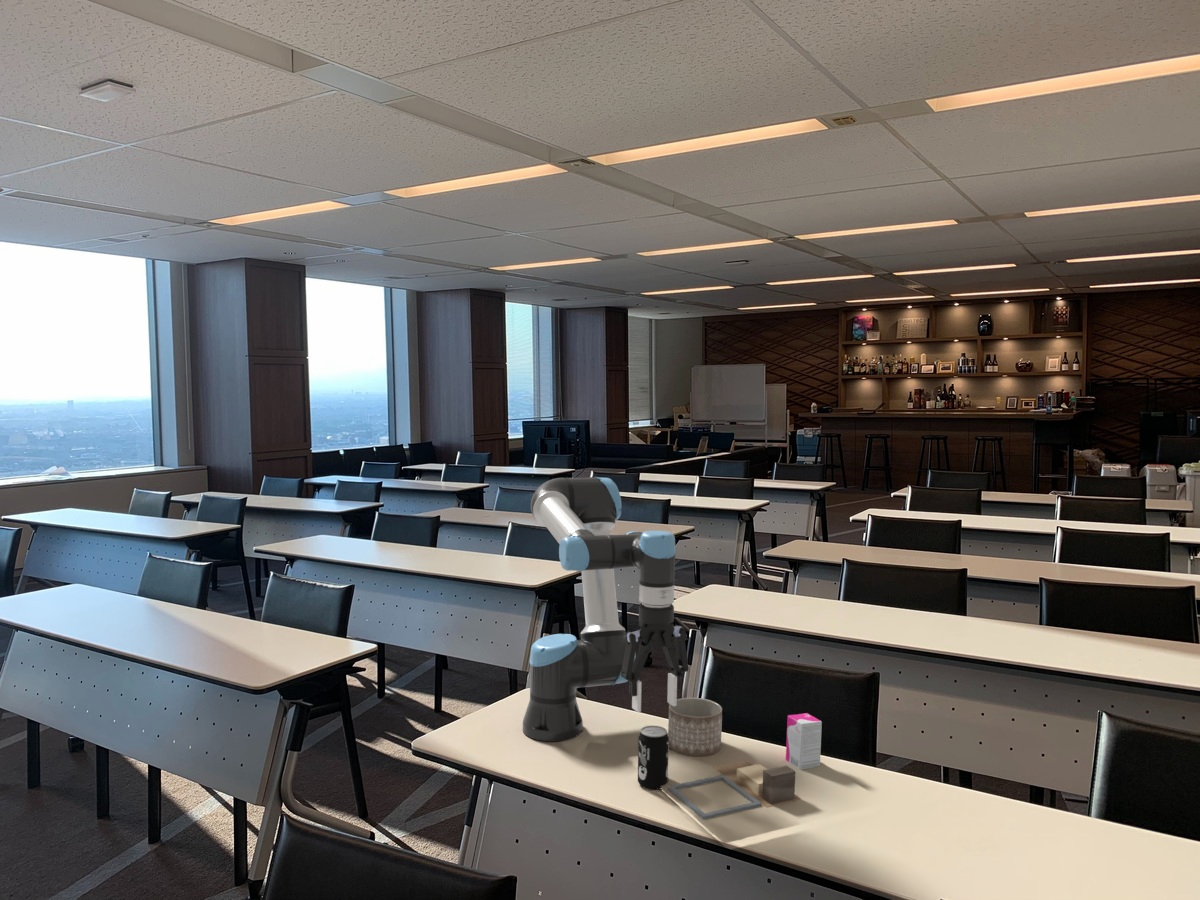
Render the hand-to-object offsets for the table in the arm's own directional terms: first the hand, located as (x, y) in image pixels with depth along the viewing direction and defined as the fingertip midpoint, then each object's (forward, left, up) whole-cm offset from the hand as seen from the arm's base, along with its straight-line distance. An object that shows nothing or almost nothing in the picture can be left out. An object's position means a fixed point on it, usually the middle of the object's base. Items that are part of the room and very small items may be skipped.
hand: (654, 706), depth 181 cm
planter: (-12, +18, -18) cm, 28 cm away
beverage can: (0, 0, -17) cm, 17 cm away
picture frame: (+12, +8, -17) cm, 22 cm away
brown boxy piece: (+10, +20, -17) cm, 28 cm away
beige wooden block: (+11, +20, -16) cm, 28 cm away
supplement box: (+6, +36, -17) cm, 40 cm away
